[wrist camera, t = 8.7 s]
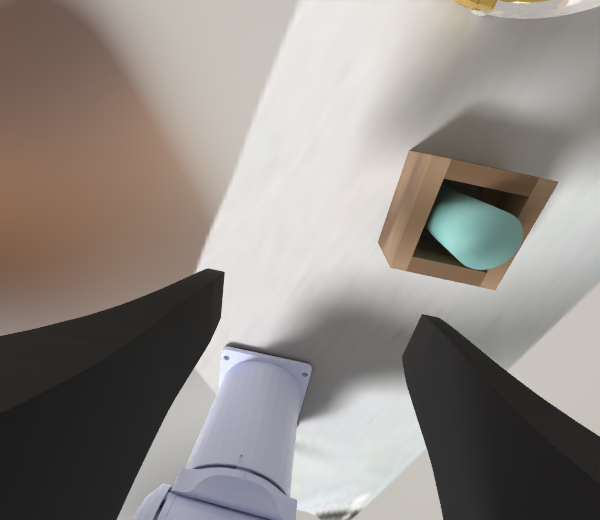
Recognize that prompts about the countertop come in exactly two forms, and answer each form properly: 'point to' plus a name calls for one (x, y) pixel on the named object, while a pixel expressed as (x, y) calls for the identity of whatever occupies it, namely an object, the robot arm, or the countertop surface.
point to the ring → (527, 7)
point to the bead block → (418, 203)
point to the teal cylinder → (473, 229)
